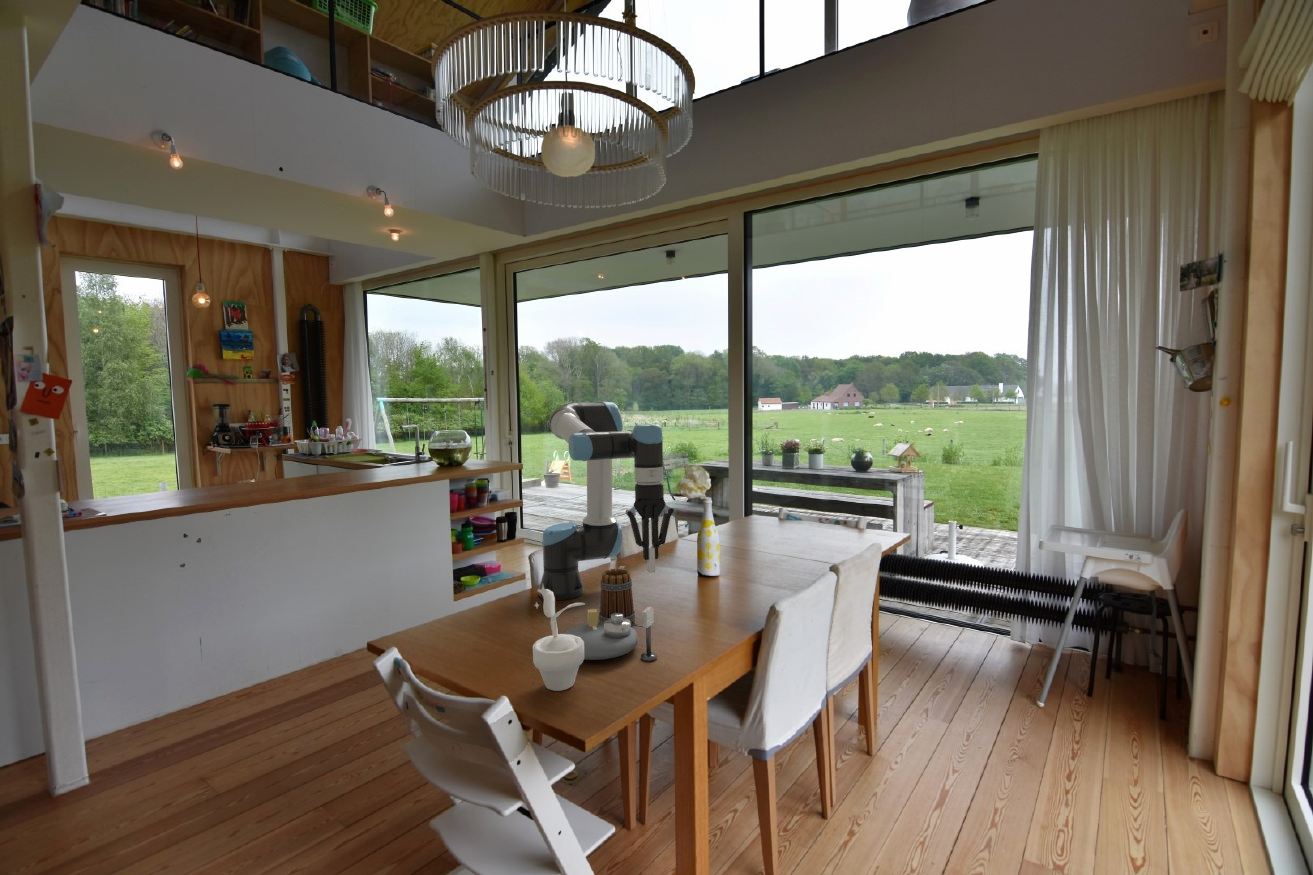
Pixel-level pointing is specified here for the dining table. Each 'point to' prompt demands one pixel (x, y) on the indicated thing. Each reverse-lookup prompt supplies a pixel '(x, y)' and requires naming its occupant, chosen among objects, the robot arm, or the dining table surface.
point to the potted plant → (557, 650)
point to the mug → (616, 594)
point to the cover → (617, 626)
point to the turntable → (601, 639)
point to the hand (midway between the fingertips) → (651, 571)
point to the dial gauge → (647, 634)
